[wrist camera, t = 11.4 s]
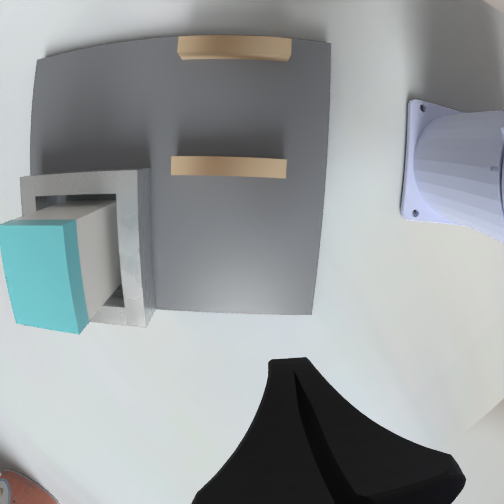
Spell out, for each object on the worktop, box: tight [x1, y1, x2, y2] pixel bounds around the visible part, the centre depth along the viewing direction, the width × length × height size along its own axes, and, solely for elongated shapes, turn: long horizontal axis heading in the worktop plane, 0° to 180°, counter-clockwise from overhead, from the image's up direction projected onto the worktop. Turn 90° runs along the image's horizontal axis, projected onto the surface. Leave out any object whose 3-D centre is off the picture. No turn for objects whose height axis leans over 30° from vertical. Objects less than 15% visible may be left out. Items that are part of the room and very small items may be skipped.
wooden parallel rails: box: [171, 35, 292, 179], centre depth 16 cm, size 6×8×2 cm
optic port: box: [20, 168, 156, 327], centre depth 18 cm, size 8×9×2 cm
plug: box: [0, 200, 122, 334], centre depth 16 cm, size 4×5×7 cm
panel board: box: [30, 35, 331, 315], centre depth 18 cm, size 19×17×1 cm
